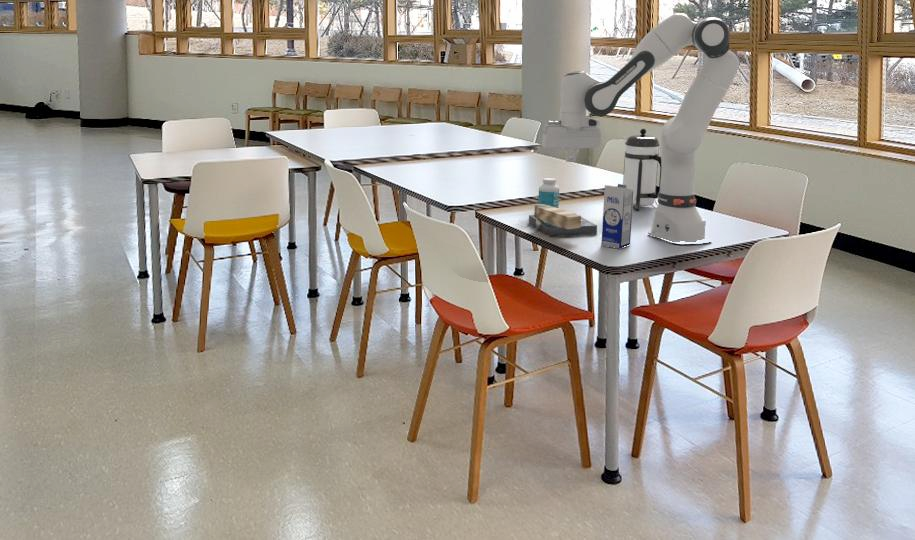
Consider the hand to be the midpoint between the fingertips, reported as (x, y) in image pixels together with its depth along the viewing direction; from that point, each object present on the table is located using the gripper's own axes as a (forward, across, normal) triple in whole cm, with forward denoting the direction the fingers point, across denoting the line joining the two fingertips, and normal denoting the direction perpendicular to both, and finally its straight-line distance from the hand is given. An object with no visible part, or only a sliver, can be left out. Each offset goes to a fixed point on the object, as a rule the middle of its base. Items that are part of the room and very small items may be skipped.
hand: (570, 161), depth 322 cm
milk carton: (+23, +6, -26) cm, 35 cm away
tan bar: (+19, -8, -8) cm, 22 cm away
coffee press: (+23, +41, +26) cm, 54 cm away
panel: (+23, -2, 0) cm, 23 cm away
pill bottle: (+24, +1, +21) cm, 32 cm away
